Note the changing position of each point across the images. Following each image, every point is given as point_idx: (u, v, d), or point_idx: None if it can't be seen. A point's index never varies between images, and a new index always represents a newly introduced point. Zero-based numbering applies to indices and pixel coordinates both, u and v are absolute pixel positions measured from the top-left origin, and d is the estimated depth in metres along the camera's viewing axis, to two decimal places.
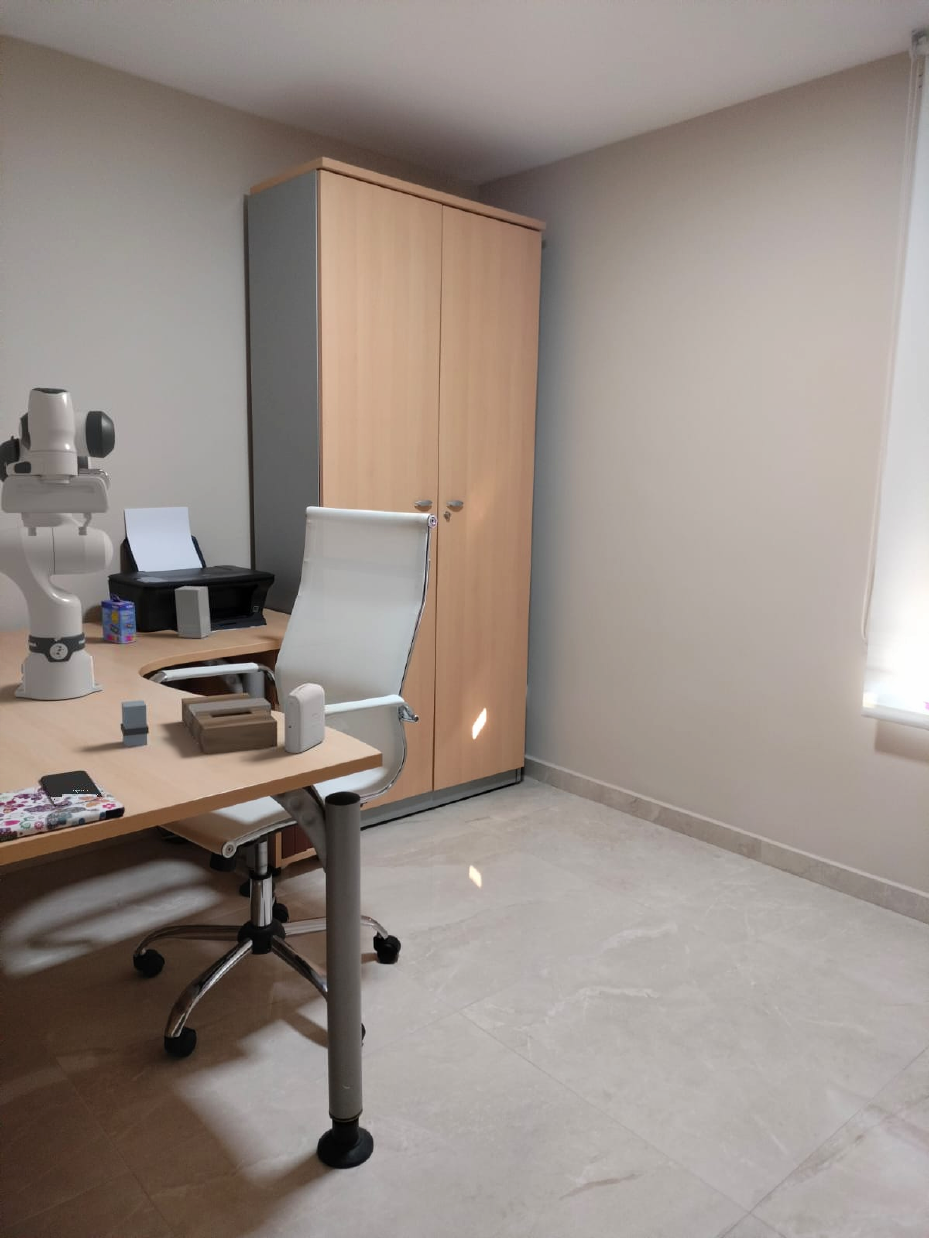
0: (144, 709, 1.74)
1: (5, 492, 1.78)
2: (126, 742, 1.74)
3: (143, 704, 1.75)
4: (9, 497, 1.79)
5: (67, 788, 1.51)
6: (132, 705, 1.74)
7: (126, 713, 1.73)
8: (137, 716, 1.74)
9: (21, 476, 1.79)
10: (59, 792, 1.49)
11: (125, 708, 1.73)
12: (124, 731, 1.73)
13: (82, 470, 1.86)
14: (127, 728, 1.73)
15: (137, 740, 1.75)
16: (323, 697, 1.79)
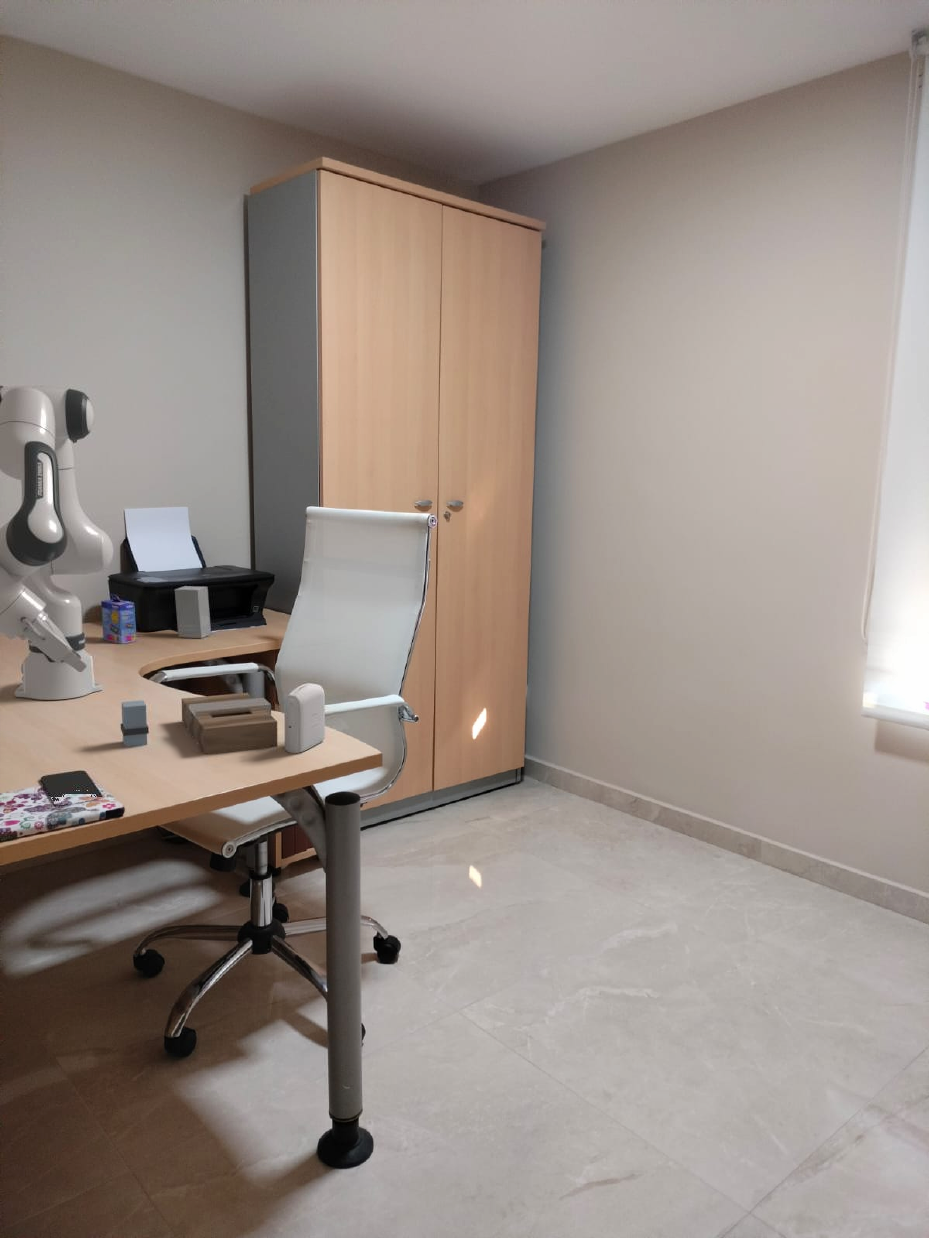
0: (144, 709, 1.74)
1: None
2: (126, 742, 1.74)
3: (143, 704, 1.75)
4: None
5: (67, 787, 1.51)
6: (132, 705, 1.74)
7: (126, 713, 1.73)
8: (137, 716, 1.74)
9: None
10: (59, 792, 1.49)
11: (125, 708, 1.73)
12: (124, 731, 1.73)
13: None
14: (127, 728, 1.73)
15: (137, 740, 1.75)
16: (323, 697, 1.79)
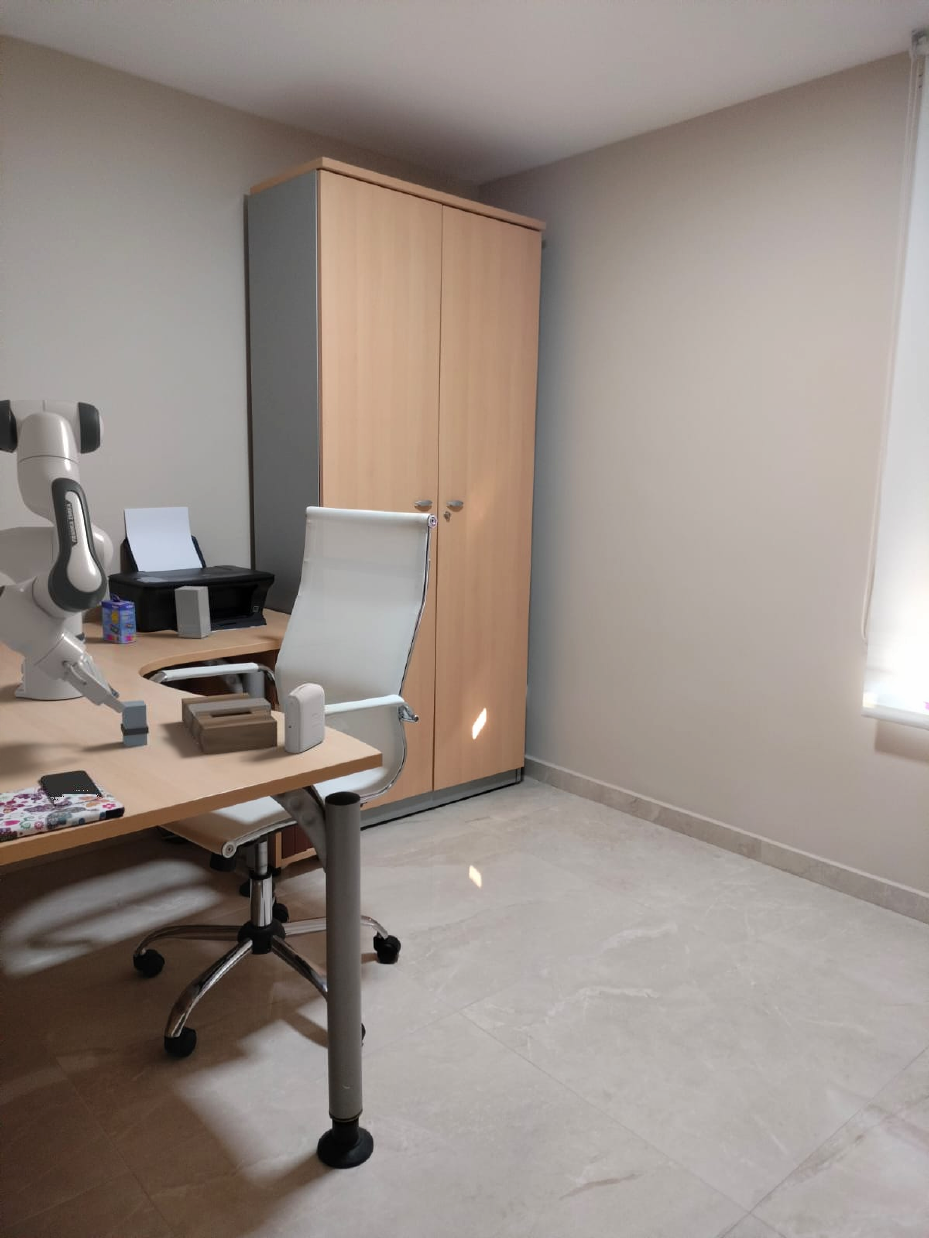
0: (144, 709, 1.74)
1: None
2: (126, 742, 1.74)
3: (143, 704, 1.75)
4: None
5: (67, 787, 1.51)
6: (132, 705, 1.74)
7: (126, 713, 1.73)
8: (137, 716, 1.74)
9: None
10: (59, 792, 1.49)
11: (125, 708, 1.73)
12: (124, 731, 1.73)
13: (63, 666, 1.63)
14: (127, 728, 1.73)
15: (137, 740, 1.75)
16: (323, 697, 1.79)
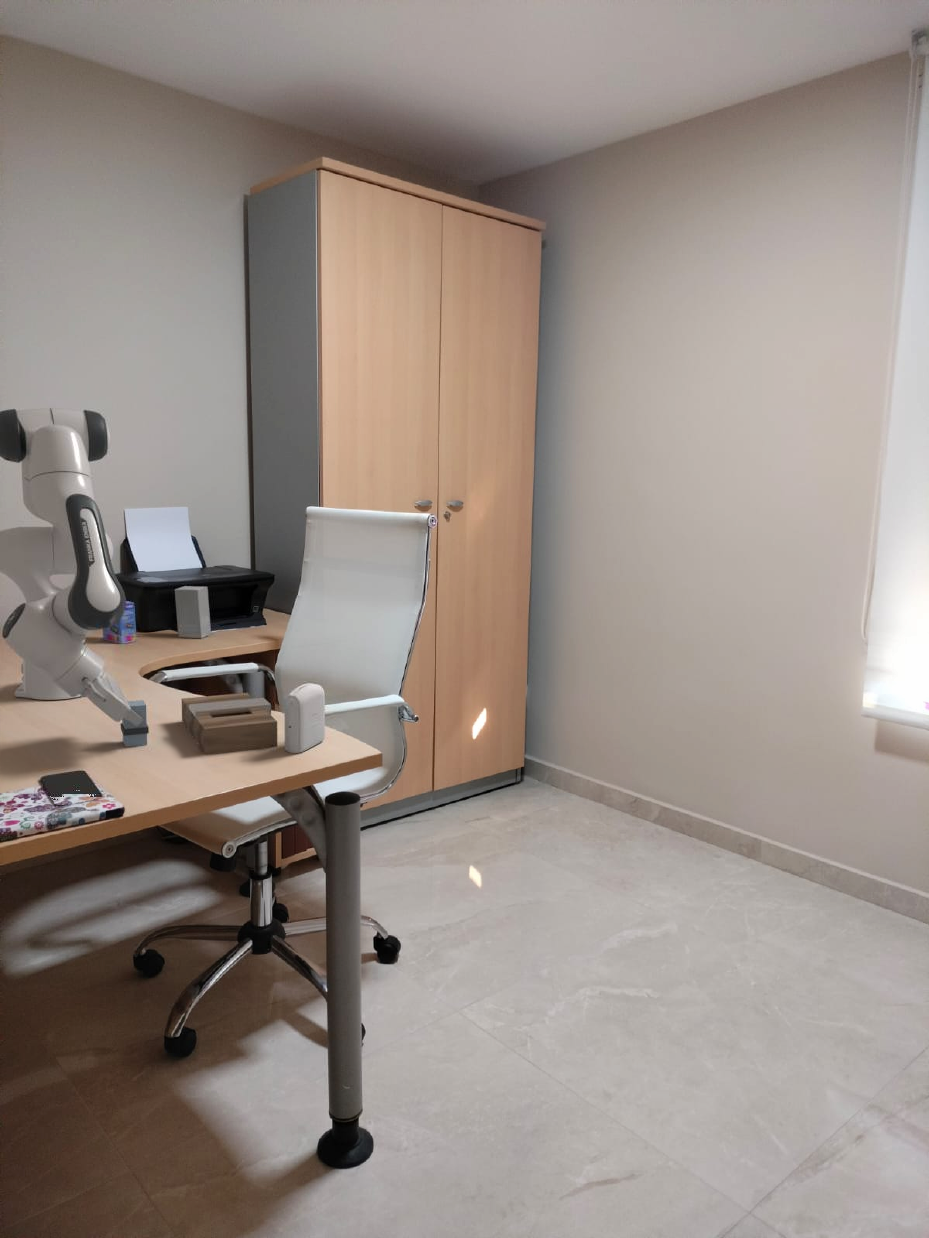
0: (144, 709, 1.74)
1: None
2: (126, 742, 1.74)
3: (143, 704, 1.75)
4: None
5: (67, 788, 1.51)
6: (132, 705, 1.74)
7: None
8: None
9: None
10: (59, 792, 1.49)
11: None
12: (124, 731, 1.73)
13: None
14: (127, 728, 1.73)
15: (137, 740, 1.75)
16: (323, 697, 1.79)
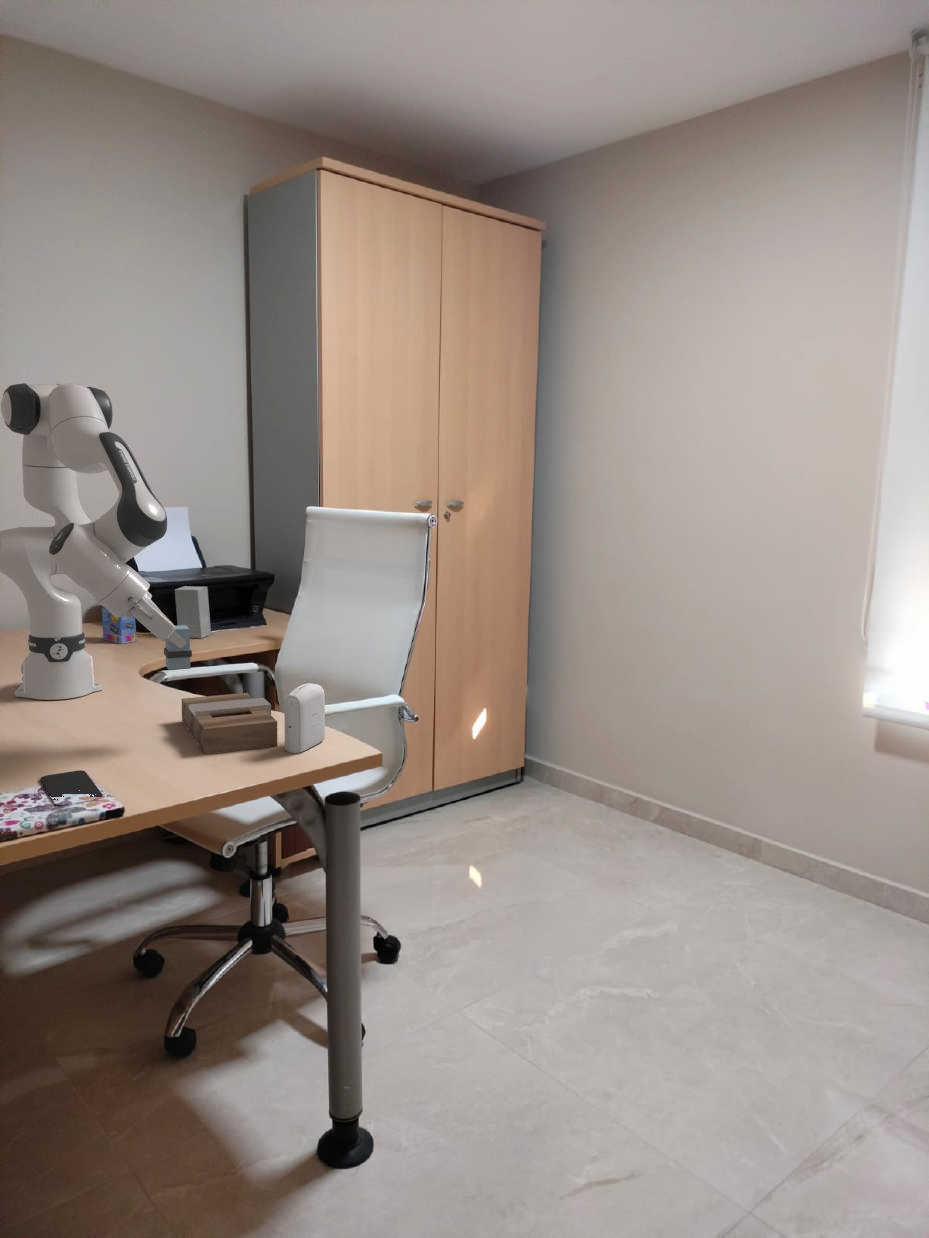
0: (187, 632, 1.75)
1: None
2: (170, 665, 1.75)
3: (186, 628, 1.76)
4: None
5: (67, 787, 1.51)
6: (176, 628, 1.75)
7: None
8: None
9: None
10: (59, 792, 1.49)
11: None
12: (168, 654, 1.74)
13: (129, 602, 1.67)
14: (171, 651, 1.75)
15: (180, 664, 1.76)
16: (323, 697, 1.79)
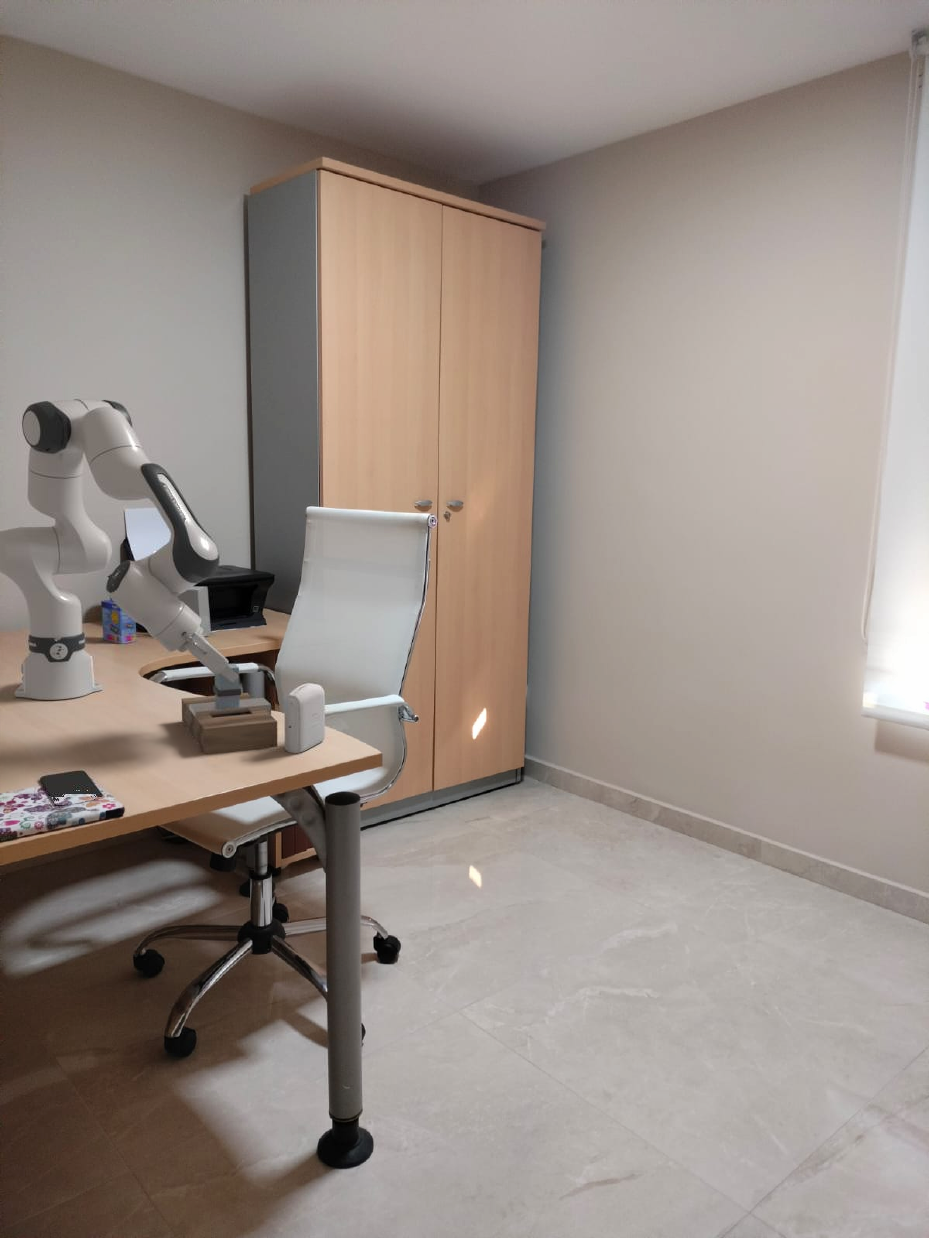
0: (237, 671, 1.82)
1: None
2: (220, 703, 1.81)
3: (236, 667, 1.82)
4: None
5: (67, 787, 1.51)
6: None
7: (221, 675, 1.80)
8: None
9: None
10: (59, 792, 1.49)
11: None
12: (218, 692, 1.80)
13: (183, 637, 1.72)
14: (221, 689, 1.81)
15: (230, 702, 1.82)
16: (323, 697, 1.79)
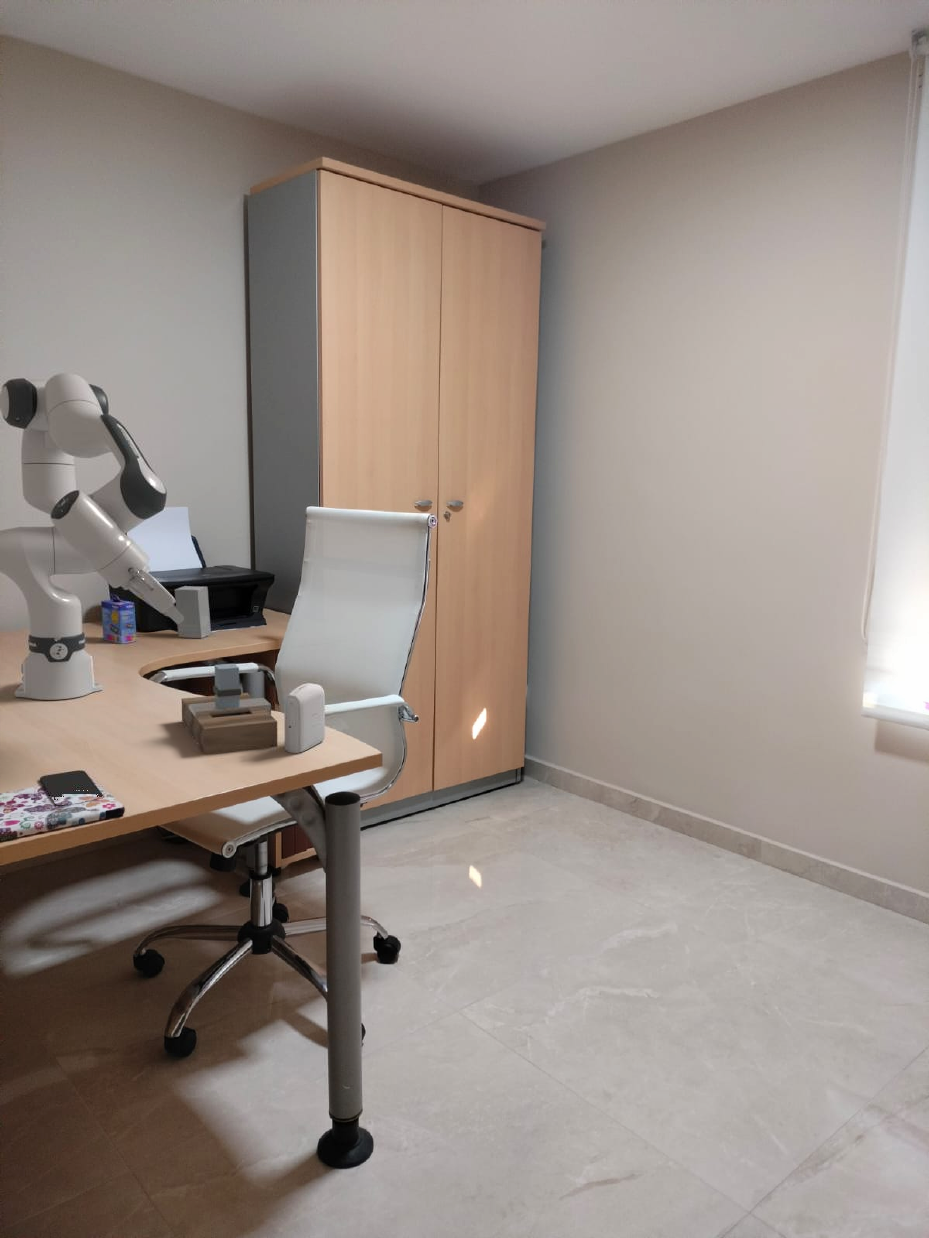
0: (237, 671, 1.82)
1: None
2: (220, 703, 1.81)
3: (236, 667, 1.82)
4: (131, 590, 1.81)
5: (67, 787, 1.51)
6: (226, 667, 1.81)
7: (221, 675, 1.80)
8: (230, 678, 1.81)
9: None
10: (59, 792, 1.49)
11: (220, 670, 1.80)
12: (218, 692, 1.80)
13: (130, 573, 1.67)
14: (221, 689, 1.81)
15: (230, 702, 1.82)
16: (323, 697, 1.79)
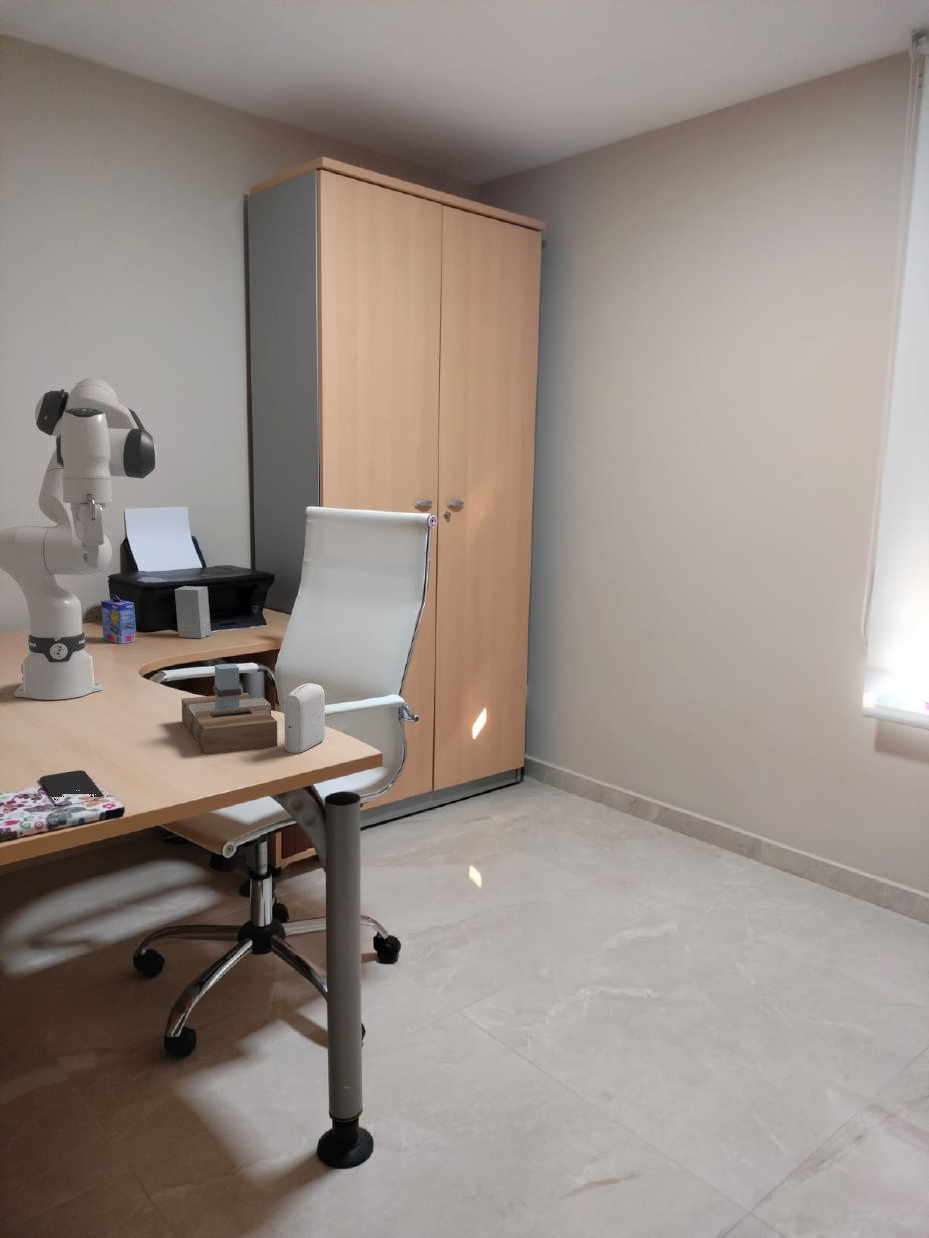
0: (237, 671, 1.82)
1: (72, 517, 1.82)
2: (220, 703, 1.81)
3: (236, 667, 1.82)
4: (75, 522, 1.82)
5: (67, 788, 1.51)
6: (226, 667, 1.81)
7: (221, 675, 1.80)
8: (230, 678, 1.81)
9: None
10: (60, 792, 1.49)
11: (220, 670, 1.80)
12: (218, 692, 1.80)
13: (87, 497, 1.70)
14: (221, 689, 1.81)
15: (230, 702, 1.82)
16: (323, 697, 1.79)
